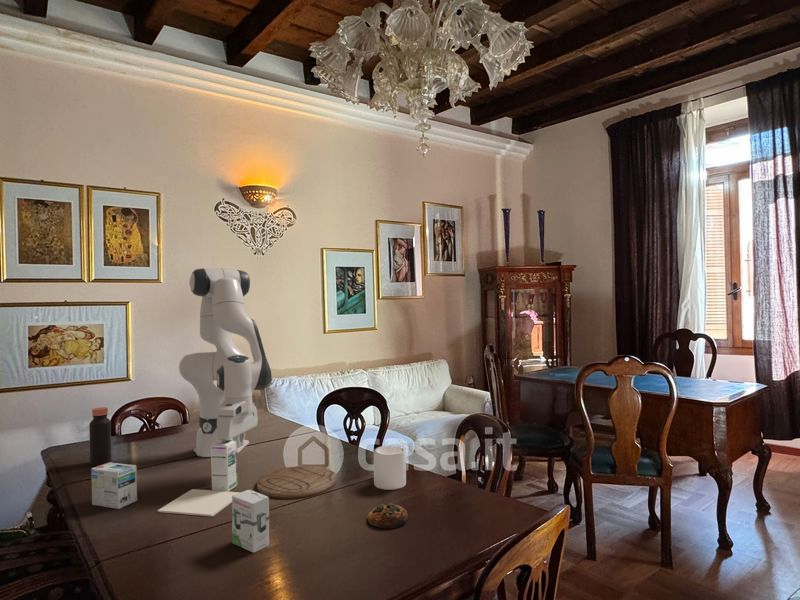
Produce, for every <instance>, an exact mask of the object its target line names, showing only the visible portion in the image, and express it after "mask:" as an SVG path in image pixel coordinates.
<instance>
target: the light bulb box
mask: <svg viewBox="0 0 800 600" xmlns="http://www.w3.org/2000/svg"><path fill="white" fill-rule="evenodd" d="M137 481H138V479H137V465H136V464H125V463H117V462H112V461H111V462H109V463H107V464H104V465H98V466H95V467H92V468H91V505H92V506H99V507H105V508H110V509H115V510H116V509H117V510H120V509H121V508H125V507H126V506H128V505H130V504H132V503H135V502H137V501H138V486H137V485H138V482H137Z"/></svg>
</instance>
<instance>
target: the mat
mask: <svg viewBox="0 0 800 600" xmlns="http://www.w3.org/2000/svg"><path fill="white" fill-rule="evenodd" d="M238 493H241V492H240V491H239V492H238V491H236V492H235V491H229V492H226V491H212V489H211V490H210V489H199V488H195V489H194V488H192V489H190V490H188V491H187V492H185V493H183V494H182V495H180V496H179V497H177V498H175V499H174V500H172V501H171V502H169V503H167V504H165V505H164V506H162V507H161V508H159V509H157V512H158V513H165V514H176V515H177V514H179V515H187V516H189V515H191V516H201V517H214V516H215V515H216V514H218V513H219V512H221V511H222V510H223V509H224V508H226V507H227V506H229V505H230V504H232V496H233V495H236V494H238Z"/></svg>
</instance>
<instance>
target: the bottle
mask: <svg viewBox="0 0 800 600" xmlns="http://www.w3.org/2000/svg"><path fill="white" fill-rule="evenodd" d="M91 412H92V413H91V414H92V415H91V416H92V420H91V421H90V422H89V424H88V425H89V426H88V427H89V464H90V466H95V467H98V466H101V465H104V464H107V463H109V462H112V421H111V420H110V419H109V418H108V414H109V407H106V406H103V407H101V406H100V407H95V408H92V410H91Z"/></svg>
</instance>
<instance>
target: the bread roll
mask: <svg viewBox="0 0 800 600" xmlns="http://www.w3.org/2000/svg"><path fill="white" fill-rule="evenodd" d="M408 516H409V514H408V511H407V510H406V509H405V508H404V507H403V506H400V505H397V504H394V503H384V504H383V503H382V504H381V505H380V506H377V507H374V508H373V509H371V511H369V512H368V515H367V517H366V518H367V522H368V523H369V524H370V525H371V526H373V527H376V528H380V529H396V528H401V527H403V526H405V524H406V523H407V522H408Z"/></svg>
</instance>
